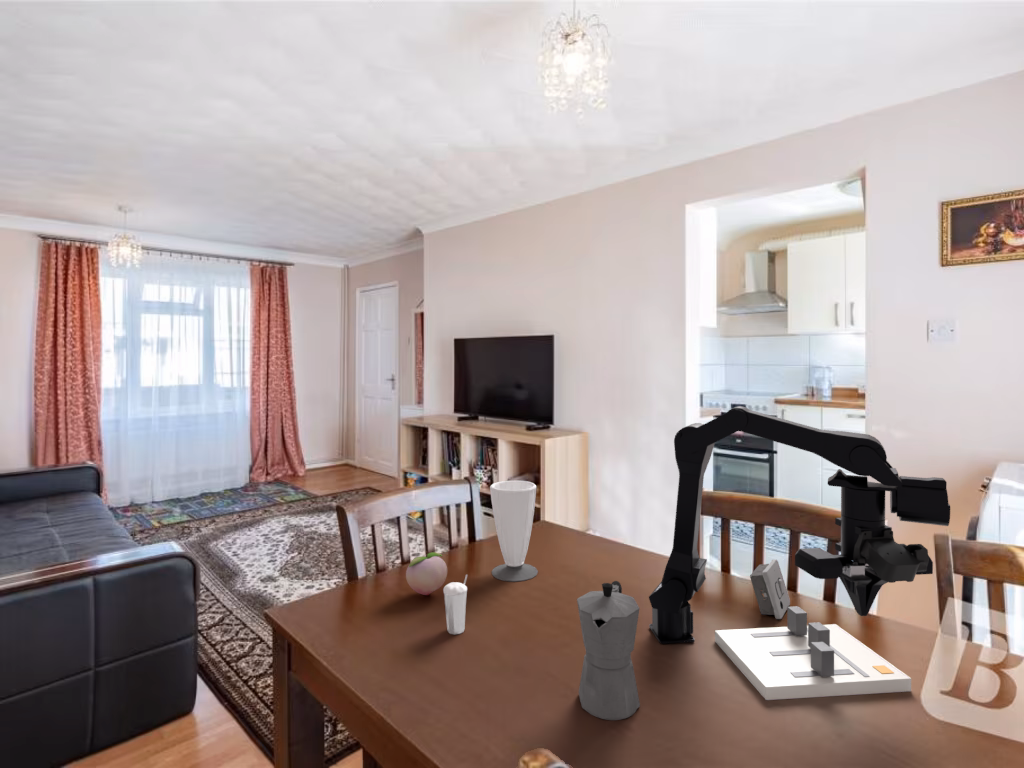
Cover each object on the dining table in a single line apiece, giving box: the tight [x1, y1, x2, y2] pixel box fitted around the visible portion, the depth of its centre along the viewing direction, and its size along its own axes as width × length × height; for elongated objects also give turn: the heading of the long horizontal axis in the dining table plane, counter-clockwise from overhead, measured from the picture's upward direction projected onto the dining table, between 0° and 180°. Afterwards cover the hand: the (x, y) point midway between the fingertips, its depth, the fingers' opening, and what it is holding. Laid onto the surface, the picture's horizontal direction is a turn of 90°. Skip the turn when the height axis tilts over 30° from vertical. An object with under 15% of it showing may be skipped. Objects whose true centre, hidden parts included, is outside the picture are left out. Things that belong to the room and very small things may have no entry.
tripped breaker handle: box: [811, 642, 834, 677], centre depth 82 cm, size 2×3×4 cm
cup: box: [489, 479, 539, 583], centre depth 129 cm, size 12×12×22 cm
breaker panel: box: [714, 623, 912, 701], centre depth 88 cm, size 23×17×2 cm
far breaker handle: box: [786, 605, 808, 636], centre depth 94 cm, size 2×3×4 cm
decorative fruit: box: [405, 550, 448, 596], centre depth 117 cm, size 9×8×10 cm
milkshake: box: [442, 574, 469, 636], centre depth 102 cm, size 4×5×10 cm
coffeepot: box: [576, 580, 641, 721], centre depth 80 cm, size 15×9×18 cm, turn 159°
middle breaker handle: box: [807, 621, 830, 648], centre depth 88 cm, size 2×3×4 cm
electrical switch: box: [749, 559, 791, 620], centre depth 108 cm, size 9×5×9 cm, turn 141°
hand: (862, 615), depth 82 cm, fingers closed
